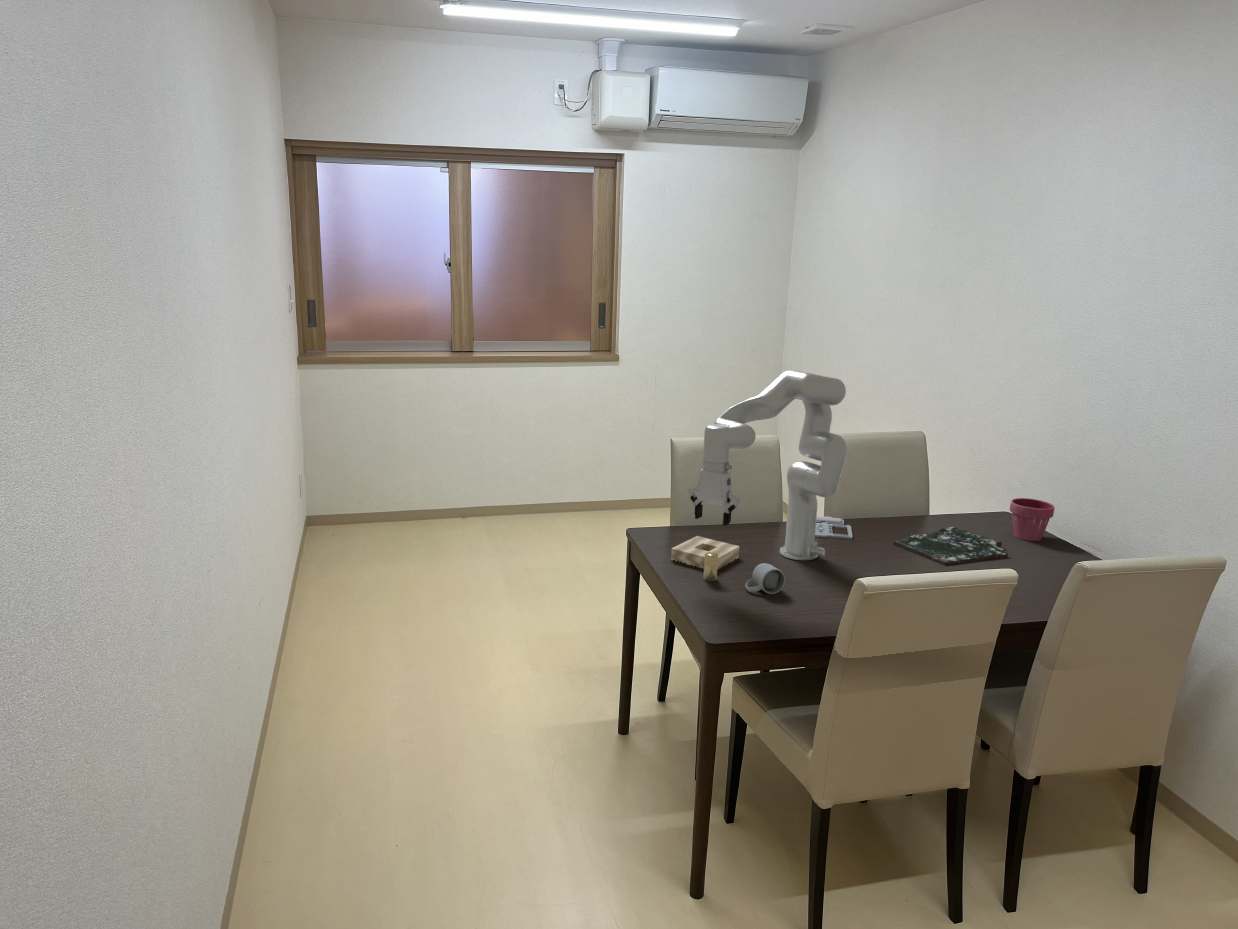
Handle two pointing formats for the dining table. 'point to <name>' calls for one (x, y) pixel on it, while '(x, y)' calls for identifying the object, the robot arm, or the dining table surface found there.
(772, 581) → the ceramic mug
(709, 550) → the block
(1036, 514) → the plant pot
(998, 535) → the dining table surface
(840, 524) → the office telephone
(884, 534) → the dining table surface
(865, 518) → the dining table surface
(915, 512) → the dining table surface
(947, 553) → the topographical map
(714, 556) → the brass pin
